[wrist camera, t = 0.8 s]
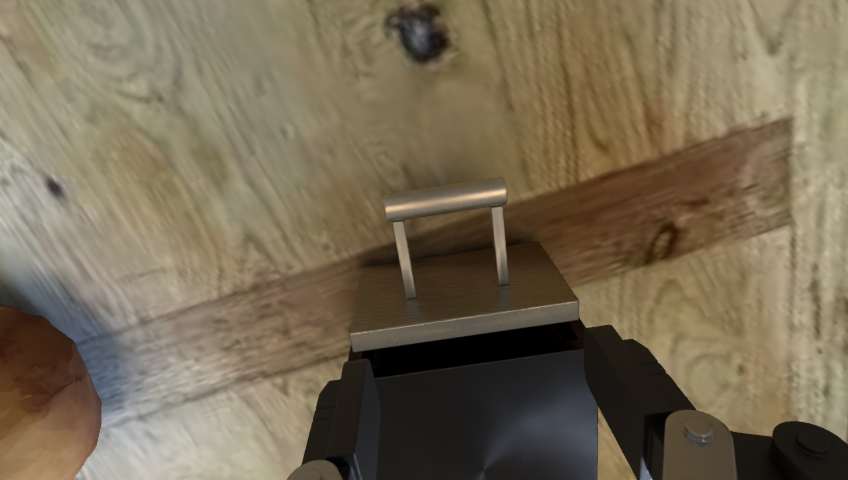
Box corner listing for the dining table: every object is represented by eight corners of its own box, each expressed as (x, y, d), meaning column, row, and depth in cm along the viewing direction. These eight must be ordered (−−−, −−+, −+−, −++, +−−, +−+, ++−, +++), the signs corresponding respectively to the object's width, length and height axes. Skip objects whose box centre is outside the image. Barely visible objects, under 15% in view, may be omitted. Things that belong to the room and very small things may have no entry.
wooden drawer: (341, 178, 27) (319, 223, 20) (534, 148, 26) (577, 183, 20) (397, 424, 34) (395, 516, 27) (547, 403, 34) (581, 491, 27)
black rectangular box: (361, 291, 31) (343, 383, 22) (545, 263, 30) (598, 346, 22) (397, 447, 36) (394, 566, 28) (553, 425, 36) (597, 540, 28)
